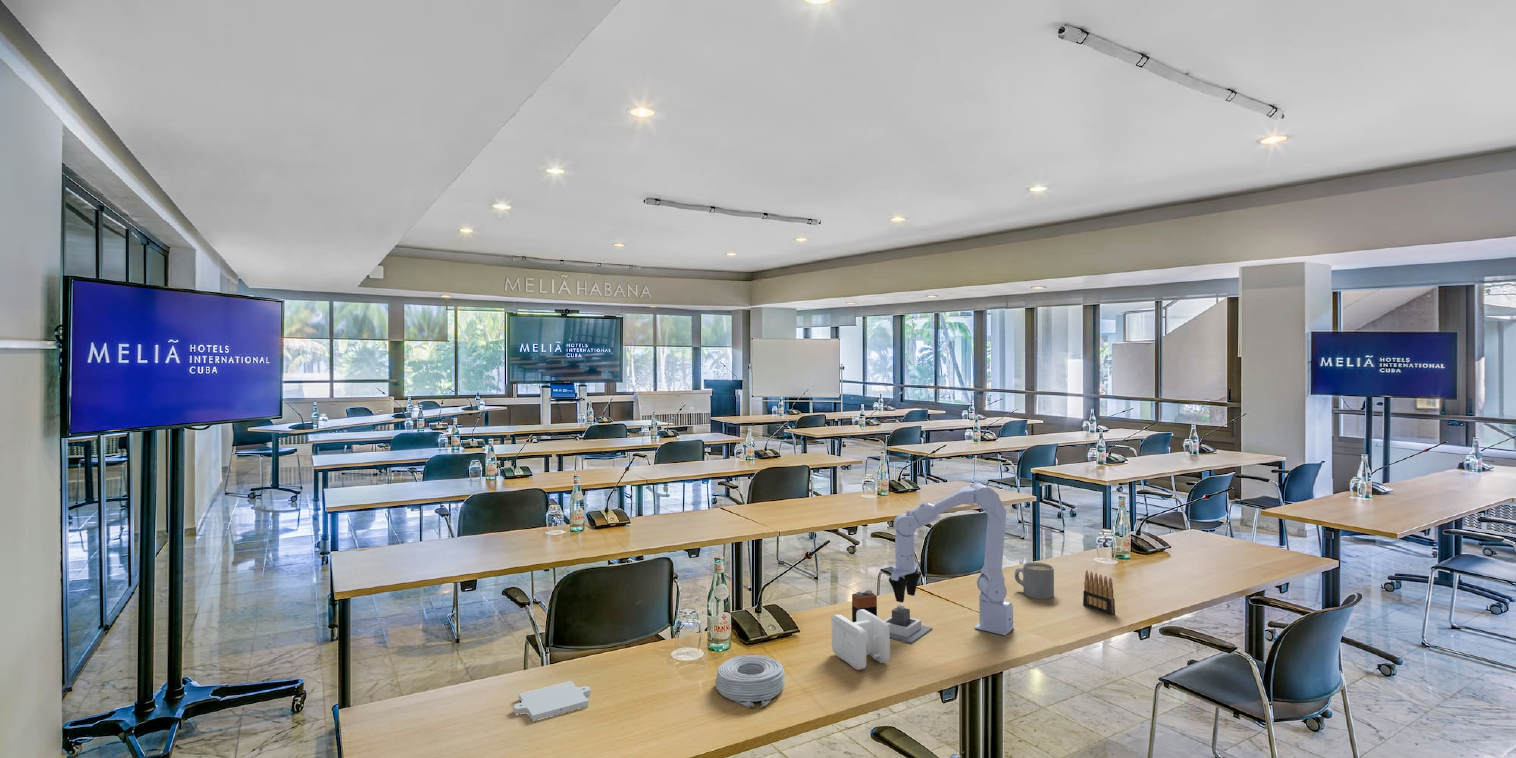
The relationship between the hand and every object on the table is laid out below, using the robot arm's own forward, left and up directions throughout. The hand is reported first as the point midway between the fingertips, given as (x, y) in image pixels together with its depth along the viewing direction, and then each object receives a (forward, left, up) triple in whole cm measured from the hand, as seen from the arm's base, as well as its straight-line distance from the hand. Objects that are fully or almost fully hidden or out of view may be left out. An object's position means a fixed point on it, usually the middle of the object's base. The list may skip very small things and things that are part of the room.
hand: (905, 598), depth 210 cm
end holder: (0, +3, -9) cm, 10 cm away
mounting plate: (+45, +95, -10) cm, 105 cm away
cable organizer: (-1, +29, -10) cm, 30 cm away
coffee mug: (-21, -58, -10) cm, 63 cm away
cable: (+13, +60, -10) cm, 62 cm away
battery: (+12, +4, -10) cm, 16 cm away
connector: (0, +3, -9) cm, 9 cm away
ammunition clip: (-43, -53, -10) cm, 69 cm away
